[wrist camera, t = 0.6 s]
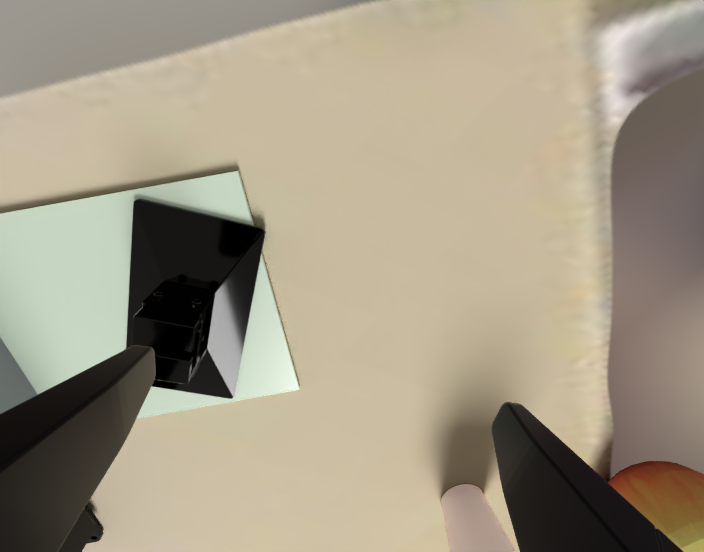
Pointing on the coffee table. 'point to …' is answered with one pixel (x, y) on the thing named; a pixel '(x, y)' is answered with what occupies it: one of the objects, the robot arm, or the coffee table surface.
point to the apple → (667, 499)
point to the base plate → (112, 294)
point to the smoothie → (472, 522)
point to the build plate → (191, 295)
